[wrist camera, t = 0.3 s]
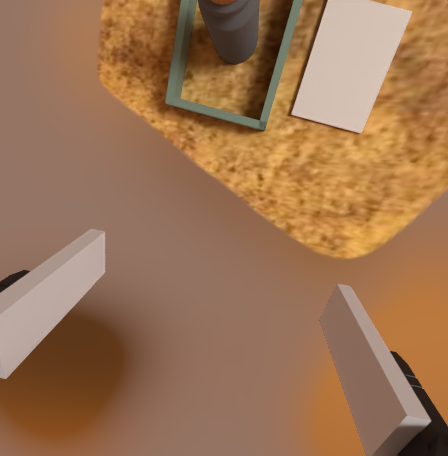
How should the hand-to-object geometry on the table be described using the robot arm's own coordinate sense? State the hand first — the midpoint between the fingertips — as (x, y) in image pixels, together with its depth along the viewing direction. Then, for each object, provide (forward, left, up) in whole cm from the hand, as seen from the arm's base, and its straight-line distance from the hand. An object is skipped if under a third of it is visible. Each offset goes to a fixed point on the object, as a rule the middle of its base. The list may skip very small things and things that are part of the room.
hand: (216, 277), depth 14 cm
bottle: (-19, -6, -27) cm, 34 cm away
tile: (-19, +9, -27) cm, 34 cm away
